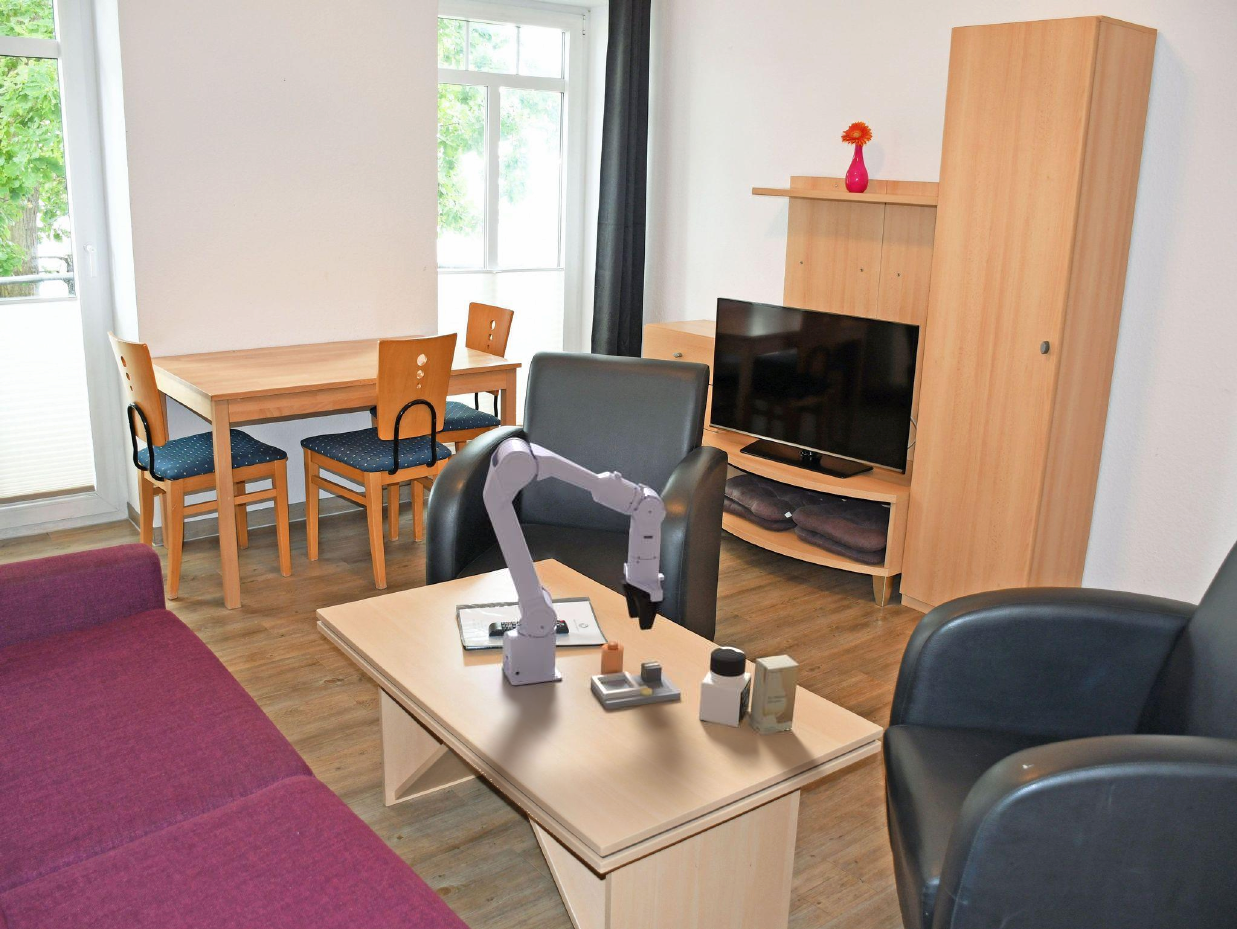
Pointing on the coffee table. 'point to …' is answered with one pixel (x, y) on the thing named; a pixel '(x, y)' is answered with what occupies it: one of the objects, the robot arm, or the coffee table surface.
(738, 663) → the medicine bottle
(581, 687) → the coffee table surface
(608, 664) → the orange bottle
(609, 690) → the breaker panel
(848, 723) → the coffee table surface
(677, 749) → the coffee table surface
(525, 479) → the robot arm
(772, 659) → the skincare box
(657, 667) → the block
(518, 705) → the coffee table surface
